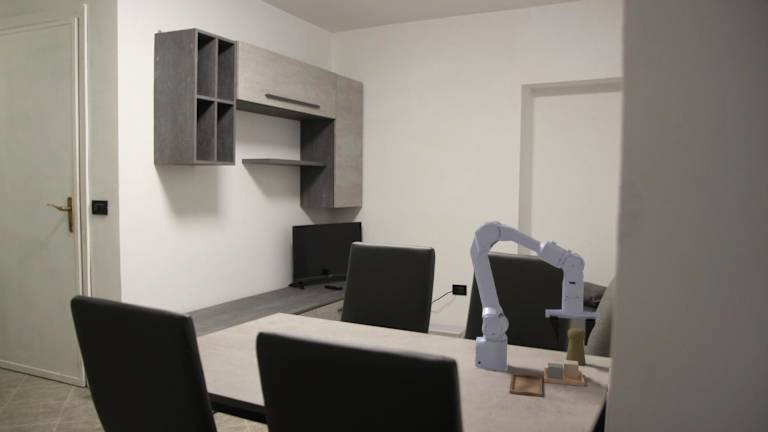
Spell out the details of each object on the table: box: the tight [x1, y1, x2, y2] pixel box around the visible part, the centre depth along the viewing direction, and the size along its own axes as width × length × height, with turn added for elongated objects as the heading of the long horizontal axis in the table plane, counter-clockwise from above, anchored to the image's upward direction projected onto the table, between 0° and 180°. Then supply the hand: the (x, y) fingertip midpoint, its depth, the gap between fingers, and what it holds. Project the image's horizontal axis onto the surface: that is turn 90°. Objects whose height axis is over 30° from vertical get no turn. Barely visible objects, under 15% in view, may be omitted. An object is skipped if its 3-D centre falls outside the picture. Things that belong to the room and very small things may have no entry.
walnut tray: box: [509, 372, 543, 398], centre depth 151 cm, size 8×15×1 cm, turn 165°
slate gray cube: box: [547, 362, 563, 379], centre depth 156 cm, size 4×4×4 cm
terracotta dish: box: [542, 366, 585, 387], centre depth 158 cm, size 11×11×2 cm
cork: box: [565, 327, 587, 367], centre depth 173 cm, size 6×6×11 cm
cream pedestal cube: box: [562, 359, 580, 379], centre depth 159 cm, size 4×4×4 cm
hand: (571, 343), depth 159 cm, fingers open, 7 cm apart
